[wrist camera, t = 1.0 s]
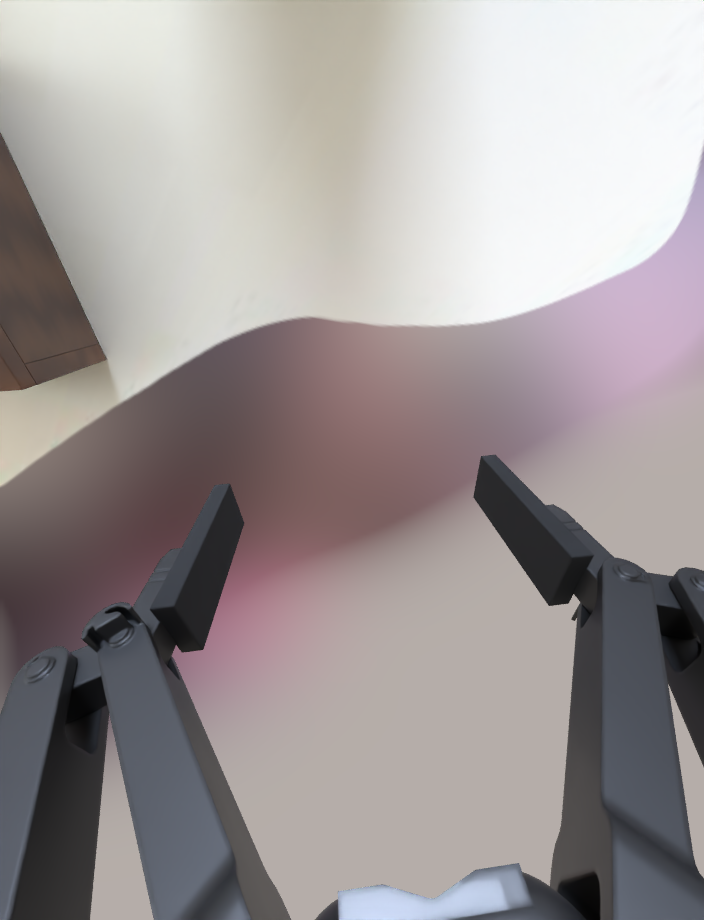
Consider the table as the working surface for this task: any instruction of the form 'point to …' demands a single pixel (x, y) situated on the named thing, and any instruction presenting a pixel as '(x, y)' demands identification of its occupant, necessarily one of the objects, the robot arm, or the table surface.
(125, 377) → the table surface
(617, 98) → the table surface
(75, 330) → the desk riser
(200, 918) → the robot arm
